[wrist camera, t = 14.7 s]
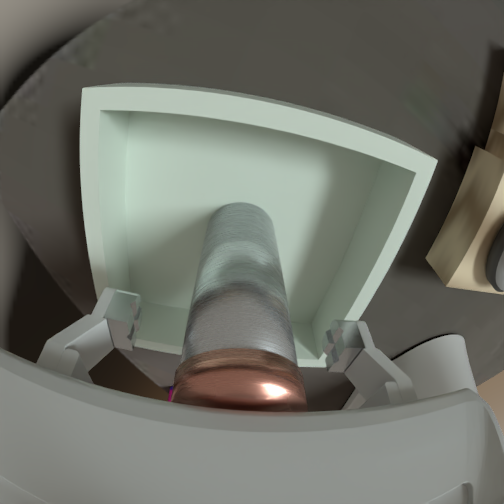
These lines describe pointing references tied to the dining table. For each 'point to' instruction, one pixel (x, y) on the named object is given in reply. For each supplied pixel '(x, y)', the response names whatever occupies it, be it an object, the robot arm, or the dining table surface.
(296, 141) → the tray
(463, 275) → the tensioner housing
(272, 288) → the lock pin
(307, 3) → the dining table surface
